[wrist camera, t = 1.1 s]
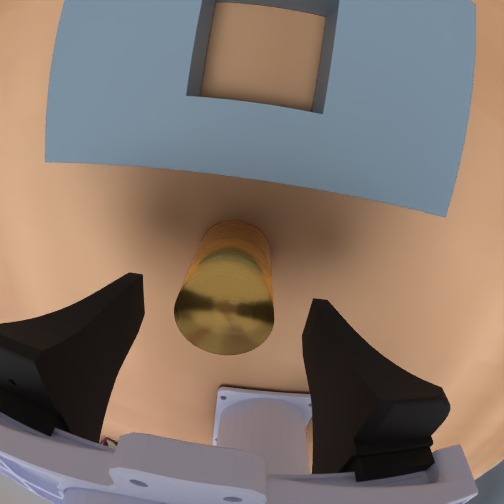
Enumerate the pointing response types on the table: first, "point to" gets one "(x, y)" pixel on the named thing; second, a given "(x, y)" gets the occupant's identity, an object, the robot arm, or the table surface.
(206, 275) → the brass cylinder
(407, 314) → the table surface
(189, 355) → the table surface
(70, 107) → the jig
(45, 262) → the table surface
